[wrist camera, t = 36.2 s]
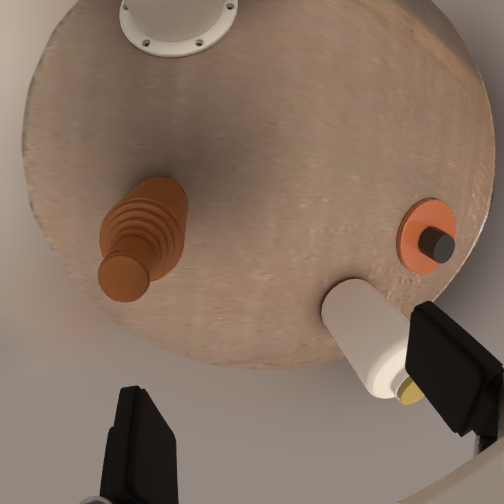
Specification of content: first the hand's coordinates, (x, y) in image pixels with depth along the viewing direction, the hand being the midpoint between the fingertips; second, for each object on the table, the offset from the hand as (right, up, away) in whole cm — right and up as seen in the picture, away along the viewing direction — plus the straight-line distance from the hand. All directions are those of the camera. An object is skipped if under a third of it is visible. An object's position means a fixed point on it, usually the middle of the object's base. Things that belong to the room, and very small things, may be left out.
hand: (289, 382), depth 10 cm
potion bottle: (+12, -3, +32) cm, 34 cm away
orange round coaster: (+24, +7, +31) cm, 39 cm away
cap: (+24, +6, +30) cm, 39 cm away
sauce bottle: (-11, +9, +23) cm, 27 cm away
